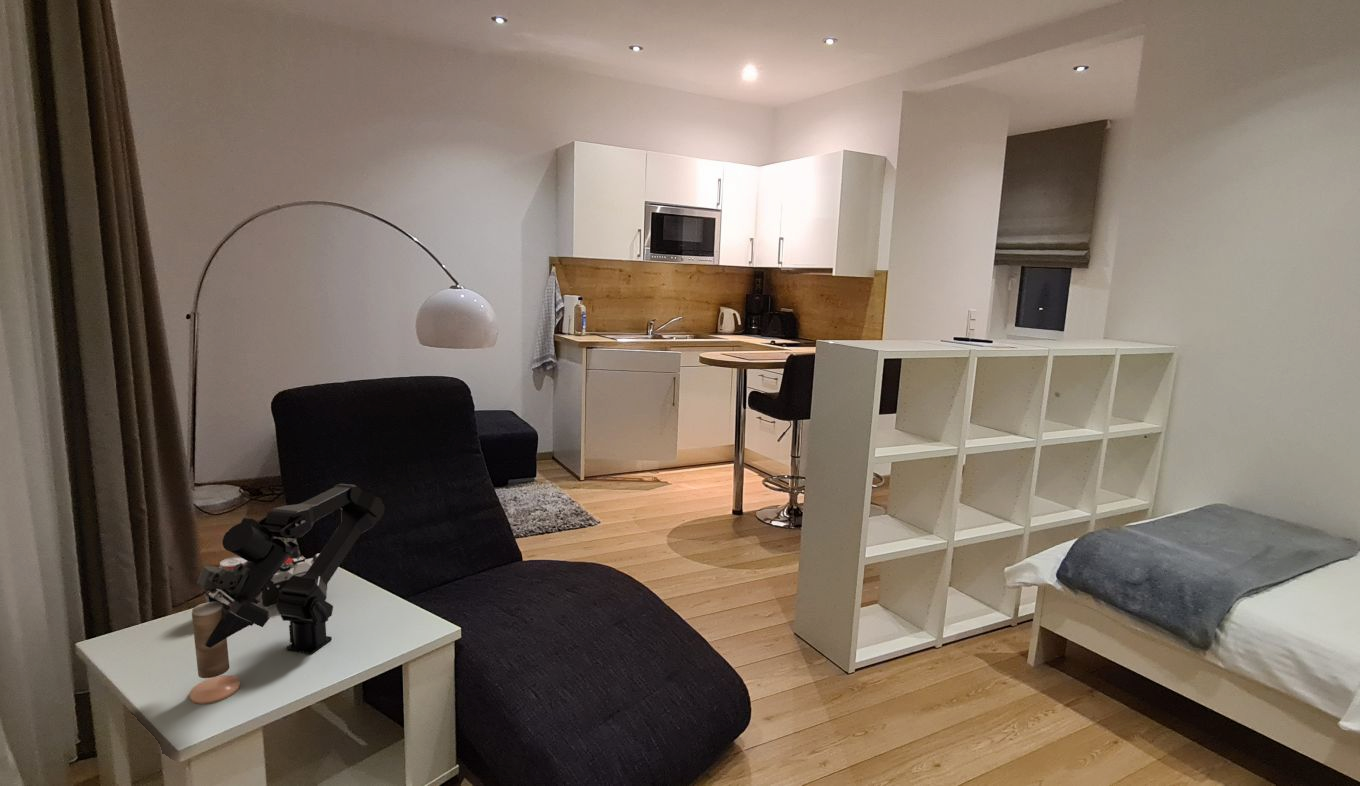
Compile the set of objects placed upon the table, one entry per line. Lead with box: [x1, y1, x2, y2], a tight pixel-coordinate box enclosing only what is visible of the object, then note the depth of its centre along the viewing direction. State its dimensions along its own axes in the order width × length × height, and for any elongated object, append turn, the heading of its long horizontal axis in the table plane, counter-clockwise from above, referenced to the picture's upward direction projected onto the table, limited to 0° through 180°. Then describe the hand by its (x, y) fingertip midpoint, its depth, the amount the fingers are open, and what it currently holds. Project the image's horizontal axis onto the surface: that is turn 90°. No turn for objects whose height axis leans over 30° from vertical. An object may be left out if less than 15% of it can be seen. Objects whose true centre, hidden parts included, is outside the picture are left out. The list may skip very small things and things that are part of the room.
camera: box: [261, 552, 328, 609], centre depth 171 cm, size 15×11×10 cm
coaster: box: [189, 675, 241, 705], centre depth 135 cm, size 8×8×1 cm
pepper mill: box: [191, 602, 230, 679], centre depth 133 cm, size 5×5×13 cm
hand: (202, 641), depth 132 cm, fingers closed on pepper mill, 5 cm apart
